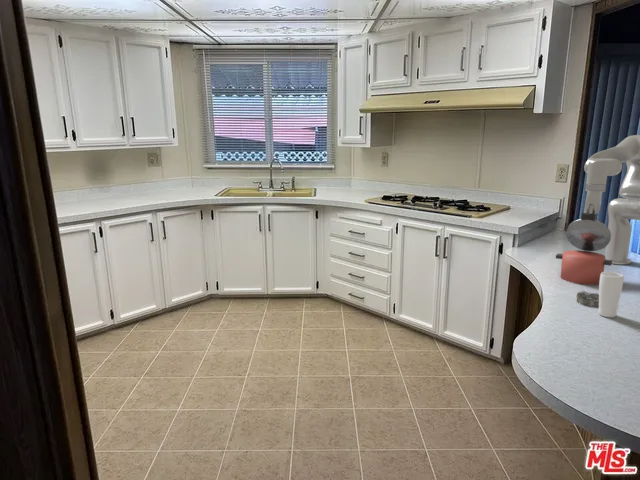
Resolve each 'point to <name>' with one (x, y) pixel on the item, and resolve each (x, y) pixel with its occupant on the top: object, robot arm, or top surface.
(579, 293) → the egg carton
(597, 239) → the cooker lid
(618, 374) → the top surface
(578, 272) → the cooker pot
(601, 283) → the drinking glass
